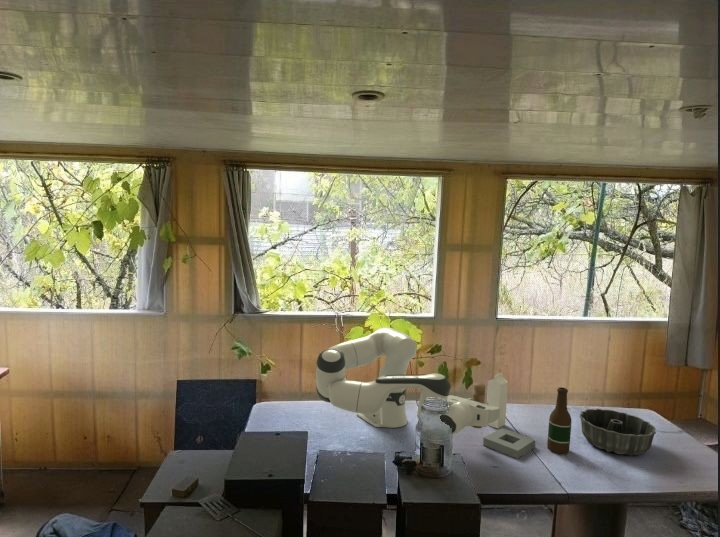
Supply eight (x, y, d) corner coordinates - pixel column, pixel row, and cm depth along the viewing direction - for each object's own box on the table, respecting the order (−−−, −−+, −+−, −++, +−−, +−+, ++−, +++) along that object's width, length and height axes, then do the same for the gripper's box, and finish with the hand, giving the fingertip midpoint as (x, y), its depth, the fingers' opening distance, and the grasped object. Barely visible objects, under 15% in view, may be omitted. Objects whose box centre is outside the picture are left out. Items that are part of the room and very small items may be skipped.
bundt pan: (607, 427, 204) (609, 404, 203) (669, 454, 180) (672, 429, 179) (562, 436, 192) (564, 412, 192) (623, 467, 169) (625, 440, 168)
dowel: (468, 425, 181) (471, 384, 180) (474, 422, 184) (477, 382, 183) (478, 429, 178) (481, 387, 177) (484, 426, 181) (487, 385, 180)
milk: (505, 425, 202) (509, 374, 200) (497, 428, 198) (501, 377, 196) (492, 420, 206) (496, 370, 204) (484, 424, 202) (488, 373, 200)
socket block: (483, 445, 182) (483, 437, 181) (501, 435, 192) (501, 427, 191) (517, 458, 172) (517, 450, 172) (534, 447, 182) (535, 439, 181)
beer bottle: (559, 456, 175) (564, 393, 173) (542, 447, 182) (547, 386, 180) (573, 452, 178) (578, 390, 176) (556, 444, 185) (561, 384, 183)
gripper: (437, 413, 176) (453, 403, 187) (490, 428, 164) (504, 417, 175) (438, 396, 176) (454, 387, 187) (491, 410, 164) (505, 400, 175)
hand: (479, 402), depth 181 cm, fingers closed on dowel, 4 cm apart
